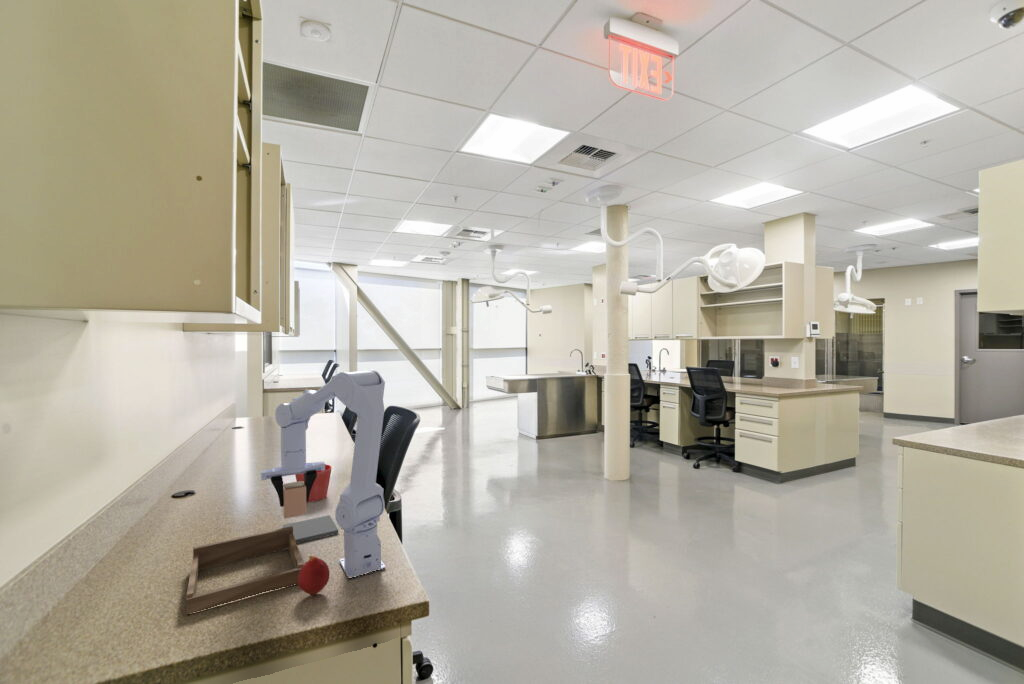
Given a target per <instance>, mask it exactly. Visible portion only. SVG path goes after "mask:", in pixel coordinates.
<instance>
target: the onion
mask: <svg viewBox="0 0 1024 684" xmlns="http://www.w3.org/2000/svg"><path fill="white" fill-rule="evenodd" d="M308 558H309V560H307V561H306V562H304V563H303V566H302V568H301V570H300V571H299V574H298V584H297V586H298V587H299V589H300V590H301V591H302V592H304V593H306V594H309V595H310V596H311V595H314V596H316V595H317V594H318V593H320V592H321V591H322V590H323V589H324V588H325V587H326V585H327V584H328V582H329V579H330V567H329V565H328V564H327V562H326V561H325V560H323V559H322V558H319V557H317V556H315V555H313V554H312V555H310V556H308ZM315 594H316V595H315Z"/></svg>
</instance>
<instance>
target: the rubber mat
mask: <svg viewBox="0 0 1024 684" xmlns="http://www.w3.org/2000/svg"><path fill="white" fill-rule="evenodd" d="M290 526H293V535H294V538H295V541H296V543H297V544H299V543H298V542H301V543H303V542H302V541H305V542H308V541H307V540H309V541H312V540H311V539H313V540H316V539H315V538H318V539H321V538H320V537H322V538H325V537H324V536H326V537H328V536H327V535H330V536H333V535H332V534H334V535H337V534H336V533H338V534H339V528H338V527H337V525H336V524H335V522H334V521H333V518H332V517H331V515H330V514H328V515H323V516H318V517H315V518H314V517H313V518H310V519H305V520H301V521H295V522H291V523H287V524H282V528H286V527H290Z"/></svg>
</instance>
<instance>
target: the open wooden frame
mask: <svg viewBox="0 0 1024 684" xmlns="http://www.w3.org/2000/svg"><path fill="white" fill-rule="evenodd" d="M286 548H289V549H288V551H289V554H291V555H290V558H291V562H292V561H293V562H292V565H293V564H294V565H293V568H292V569H289V570H285V571H281V572H277V573H273V574H269V575H266V576H261V577H258V578H254V579H251V580H247V581H243V582H238V583H236V584H232V585H228V586H223V587H221V588H217V589H213V590H210V591H206V592H201V593H197V589H198V581H199V574H200V573H199V572H200V571H201V570H205V569H210V568H215V567H218V566H219V567H220V566H223V565H226V564H232V563H235V561H236V562H239V561H243V559H244V560H247V558H248V559H252V558H256V557H260V556H264V555H263V554H265V555H267V554H266V553H269V554H272V553H271V552H273V553H275V552H274V551H277V552H280V551H279V550H281V551H284V550H283V549H285V550H287V549H286ZM259 555H260V556H259ZM255 556H256V557H255ZM251 557H252V558H251ZM303 565H304V562H303V558H302V556H301V553H300V551H299V547H298V543H297V544H296V541H295V538H294V535H293V526H290V527H286V528H283V527H282V528H277V529H273V530H268V531H262V532H259V533H254V534H250V535H244V536H240V537H236V538H231V539H226V540H222V541H217V542H212V543H207V544H203V545H199V546H195V547H193V548H192V561H191V568H190V574H189V579H188V585H187V591H186V600H185V601H186V602H185V603H186V604H185V606H186V614H185V615H186V616H187V614H190V613H193V612H197V611H201V610H204V609H208V608H211V607H214V606H217V605H220V604H224V603H228V602H231V601H235V600H238V599H242V598H245V597H248V596H252V595H256V594H259V593H262V592H266V591H270V590H275V589H279V588H282V587H287V586H290V587H292V586H291V585H294V584H297V585H298V574H299V571H300V570H301V568H302V566H303ZM294 586H295V585H294ZM287 588H288V587H287Z"/></svg>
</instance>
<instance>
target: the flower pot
mask: <svg viewBox="0 0 1024 684" xmlns="http://www.w3.org/2000/svg"><path fill="white" fill-rule="evenodd" d="M316 473H317V477H316V479H315V481H314V483H313V486H312V488H311V491H310V495H309V501H308V502H307V503H313V502H312V501H314V502H317V501H318V500H319V501H321V499H322V500H324V499H326V498H327V496H328V491H329V485H330V480H331V474H332V465H330V464H326V463H325V470H324V471H316ZM295 480H296V481H295V482H298V481H302V482H303V481H304V473H301V474H295ZM304 483H305V482H304ZM323 498H324V499H323Z"/></svg>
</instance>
